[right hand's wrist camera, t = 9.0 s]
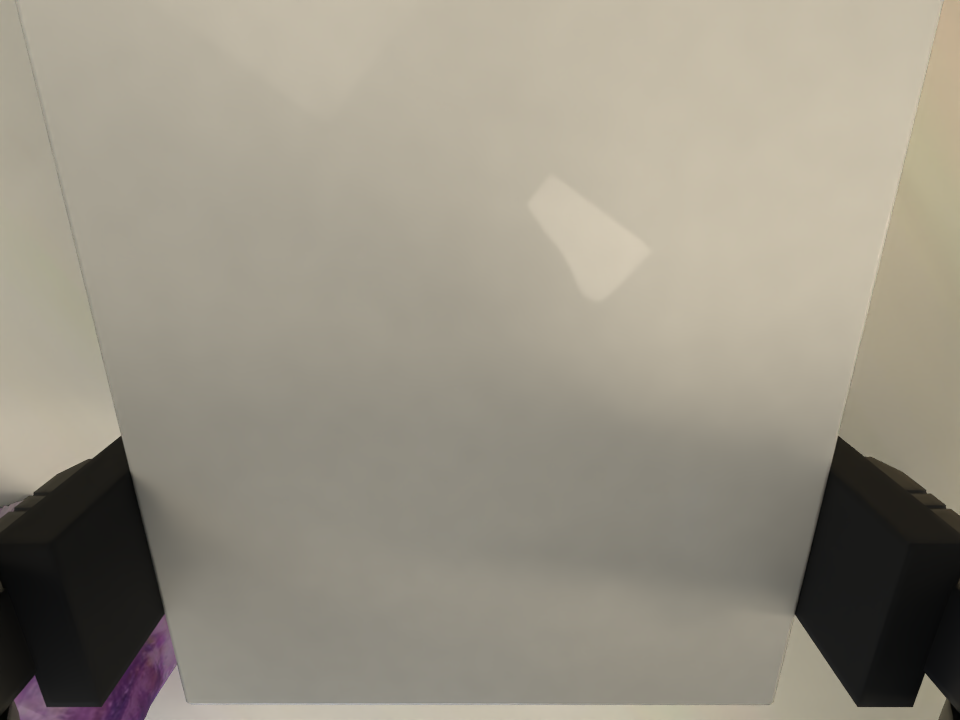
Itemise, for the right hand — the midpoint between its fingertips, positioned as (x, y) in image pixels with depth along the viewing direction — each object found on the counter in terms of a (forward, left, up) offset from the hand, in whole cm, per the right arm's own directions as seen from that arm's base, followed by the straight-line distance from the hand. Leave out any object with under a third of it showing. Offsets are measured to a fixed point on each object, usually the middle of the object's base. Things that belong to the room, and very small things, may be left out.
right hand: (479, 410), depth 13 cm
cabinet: (+2, -7, -5) cm, 9 cm away
